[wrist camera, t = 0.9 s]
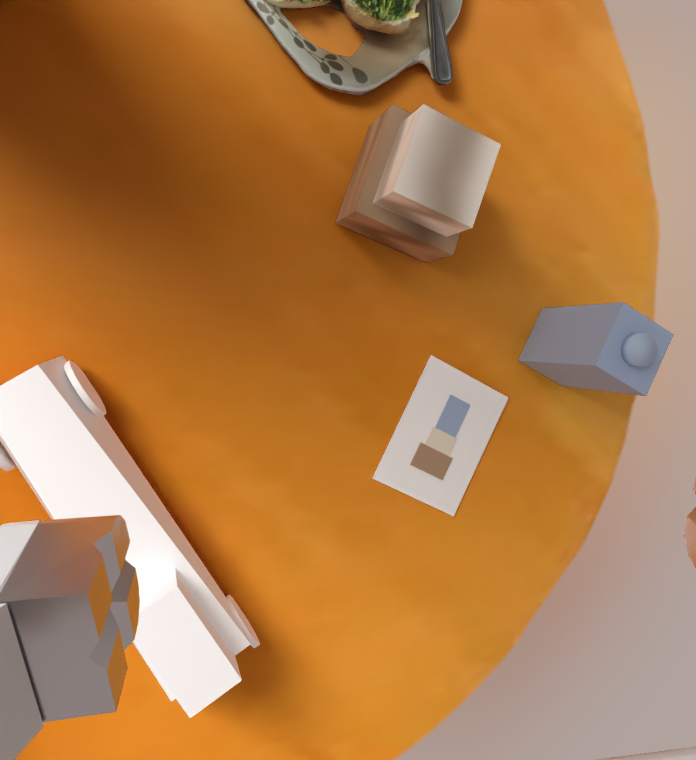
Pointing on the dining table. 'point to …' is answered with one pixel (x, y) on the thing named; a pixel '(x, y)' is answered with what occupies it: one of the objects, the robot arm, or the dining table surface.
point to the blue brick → (597, 347)
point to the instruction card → (440, 436)
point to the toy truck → (144, 524)
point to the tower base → (377, 217)
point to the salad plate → (370, 40)
